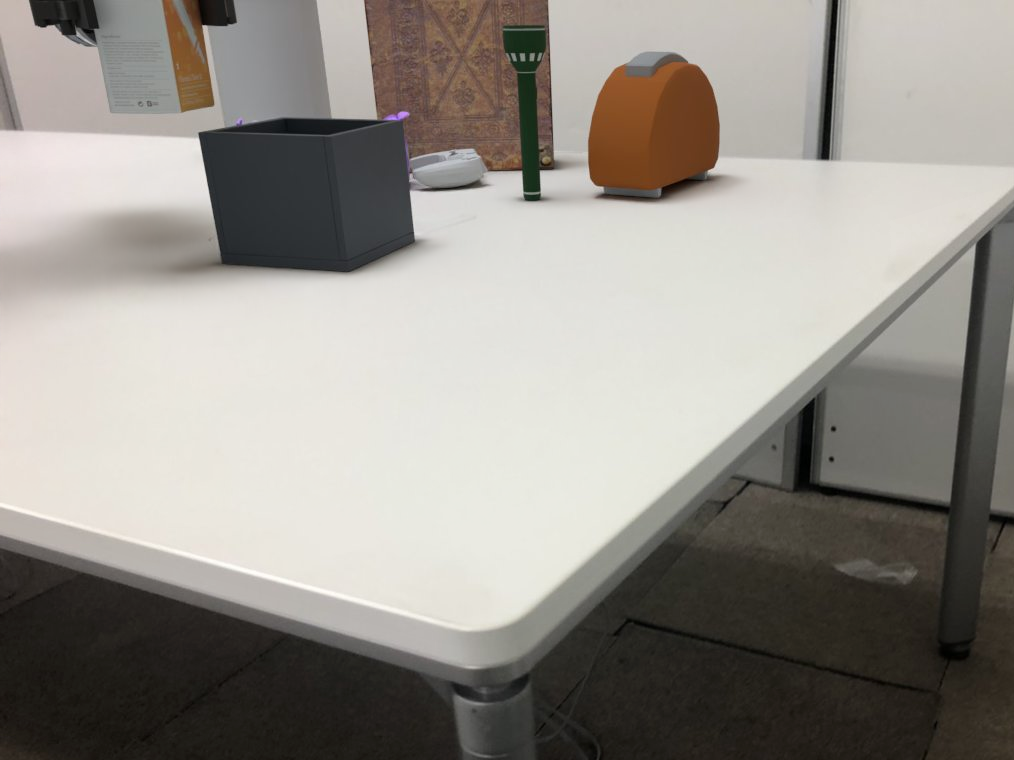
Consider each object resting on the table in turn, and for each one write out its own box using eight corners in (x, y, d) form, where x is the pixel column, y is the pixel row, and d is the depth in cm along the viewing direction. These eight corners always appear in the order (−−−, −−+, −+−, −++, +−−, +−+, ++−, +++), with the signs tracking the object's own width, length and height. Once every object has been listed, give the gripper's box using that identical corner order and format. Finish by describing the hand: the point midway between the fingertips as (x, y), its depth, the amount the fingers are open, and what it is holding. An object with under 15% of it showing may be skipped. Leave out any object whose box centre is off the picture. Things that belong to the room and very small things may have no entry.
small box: (183, 115, 87) (152, -57, 81) (108, 114, 87) (73, -57, 81) (217, 106, 94) (192, -52, 89) (149, 105, 94) (119, -52, 89)
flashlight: (560, 198, 128) (554, 25, 119) (532, 204, 125) (523, 26, 116) (532, 194, 131) (524, 25, 122) (503, 199, 127) (493, 25, 119)
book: (381, 173, 148) (355, -60, 135) (388, 164, 156) (364, -56, 143) (555, 169, 150) (546, -60, 137) (553, 160, 159) (544, -56, 146)
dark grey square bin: (221, 263, 97) (197, 132, 92) (300, 234, 109) (282, 117, 104) (348, 271, 94) (331, 136, 89) (415, 241, 106) (403, 120, 101)
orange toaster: (663, 172, 147) (664, 47, 140) (720, 176, 144) (724, 48, 137) (586, 198, 128) (582, 55, 121) (650, 203, 125) (650, 56, 118)
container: (213, 165, 155) (180, -16, 145) (243, 150, 171) (215, -14, 160) (328, 163, 157) (304, -17, 146) (347, 148, 172) (326, -15, 162)
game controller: (405, 152, 144) (472, 134, 145) (414, 183, 146) (481, 165, 147) (410, 167, 131) (484, 147, 133) (420, 200, 133) (493, 180, 135)
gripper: (228, 46, 108) (296, 53, 92) (-10, 53, 97) (19, 63, 80) (215, -33, 105) (283, -40, 88) (-33, -35, 93) (-8, -43, 77)
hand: (157, 9), depth 84 cm, fingers closed on small box, 9 cm apart
